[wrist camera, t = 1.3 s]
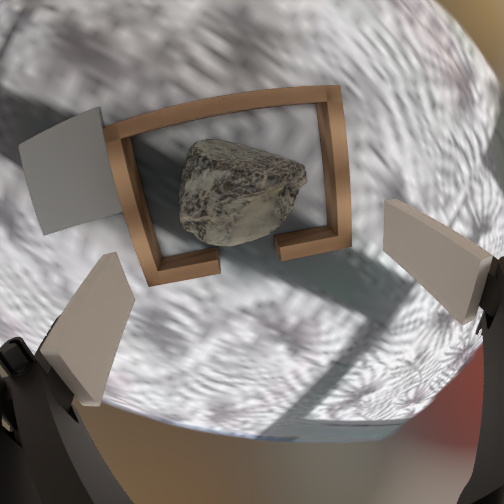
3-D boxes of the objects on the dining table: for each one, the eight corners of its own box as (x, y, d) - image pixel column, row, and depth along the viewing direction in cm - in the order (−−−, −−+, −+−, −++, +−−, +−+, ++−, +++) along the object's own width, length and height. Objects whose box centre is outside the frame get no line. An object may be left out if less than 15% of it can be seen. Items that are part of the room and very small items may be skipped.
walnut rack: (113, 127, 23) (102, 127, 20) (327, 88, 23) (339, 85, 21) (153, 272, 30) (148, 286, 27) (340, 235, 30) (351, 246, 28)
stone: (283, 136, 16) (192, 265, 18) (332, 186, 24) (266, 272, 27) (201, 94, 20) (138, 193, 23) (263, 141, 29) (210, 215, 31)
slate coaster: (21, 144, 21) (18, 145, 20) (100, 107, 21) (97, 106, 21) (46, 233, 26) (43, 235, 25) (124, 210, 26) (122, 212, 26)
